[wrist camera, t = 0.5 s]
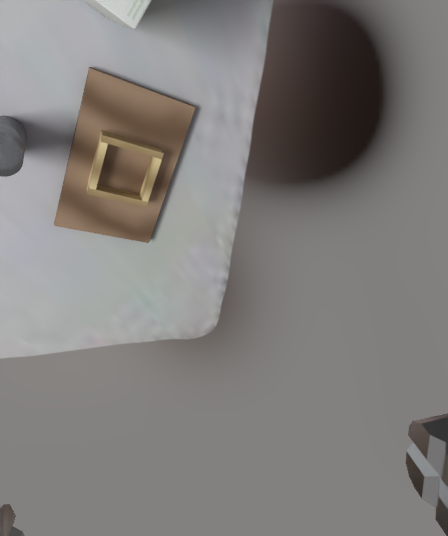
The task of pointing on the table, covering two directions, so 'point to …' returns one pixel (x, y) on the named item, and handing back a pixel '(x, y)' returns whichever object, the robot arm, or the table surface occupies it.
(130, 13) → the skincare box
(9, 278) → the table surface
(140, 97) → the collar board
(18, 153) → the cylinder
